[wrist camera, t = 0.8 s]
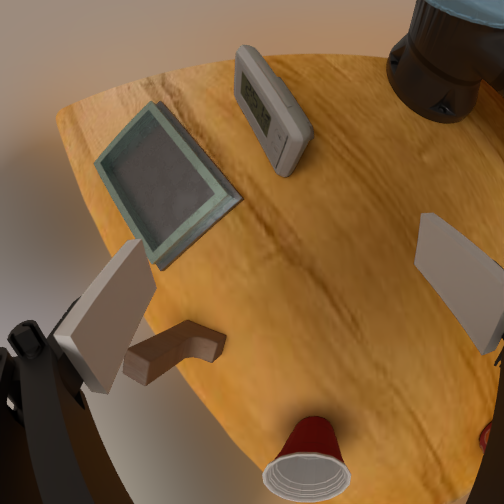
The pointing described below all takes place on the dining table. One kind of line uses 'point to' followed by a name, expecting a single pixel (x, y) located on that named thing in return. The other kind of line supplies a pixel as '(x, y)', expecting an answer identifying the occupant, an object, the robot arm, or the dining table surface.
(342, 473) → the plastic cup
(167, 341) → the wooden block
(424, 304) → the dining table surface
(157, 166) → the keeper tray
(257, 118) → the digital clock
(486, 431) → the smoothie
